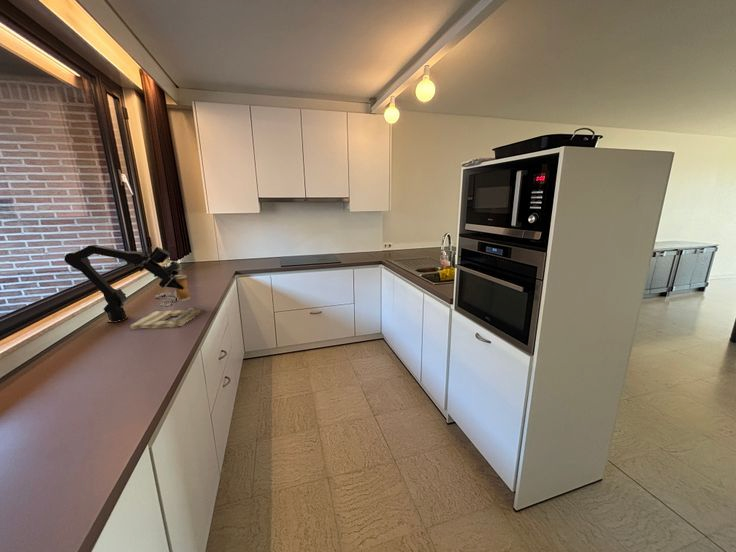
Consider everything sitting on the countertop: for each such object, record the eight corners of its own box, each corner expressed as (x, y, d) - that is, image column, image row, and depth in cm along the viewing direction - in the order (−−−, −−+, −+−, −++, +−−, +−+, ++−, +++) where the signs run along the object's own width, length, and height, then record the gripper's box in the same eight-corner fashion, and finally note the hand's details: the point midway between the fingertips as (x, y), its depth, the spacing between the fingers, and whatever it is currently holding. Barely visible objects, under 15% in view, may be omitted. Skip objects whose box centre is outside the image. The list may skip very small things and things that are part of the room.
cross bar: (172, 322, 146) (171, 319, 146) (190, 310, 162) (189, 307, 162) (176, 322, 147) (175, 319, 146) (193, 310, 162) (193, 307, 162)
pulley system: (181, 293, 204) (154, 297, 194) (180, 286, 203) (153, 290, 193) (190, 304, 184) (160, 309, 174) (189, 297, 183) (159, 302, 173)
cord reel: (174, 301, 163) (169, 277, 160) (181, 297, 169) (177, 274, 166) (186, 300, 163) (181, 277, 160) (193, 297, 169) (188, 274, 166)
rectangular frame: (130, 329, 146) (129, 325, 145) (155, 315, 163) (154, 311, 163) (181, 326, 146) (180, 323, 146) (200, 313, 164) (199, 309, 163)
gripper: (161, 261, 150) (190, 280, 157) (171, 254, 168) (197, 272, 174) (146, 278, 150) (176, 296, 156) (158, 270, 167) (184, 287, 173)
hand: (184, 287), depth 165 cm, fingers closed on cord reel, 6 cm apart
